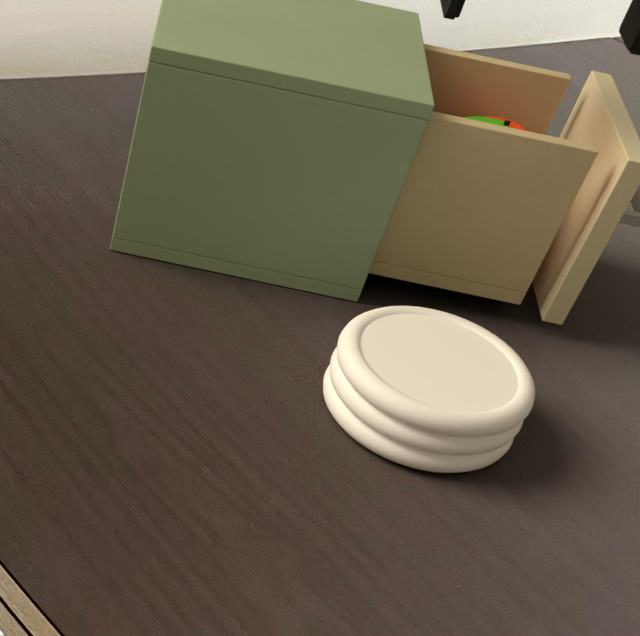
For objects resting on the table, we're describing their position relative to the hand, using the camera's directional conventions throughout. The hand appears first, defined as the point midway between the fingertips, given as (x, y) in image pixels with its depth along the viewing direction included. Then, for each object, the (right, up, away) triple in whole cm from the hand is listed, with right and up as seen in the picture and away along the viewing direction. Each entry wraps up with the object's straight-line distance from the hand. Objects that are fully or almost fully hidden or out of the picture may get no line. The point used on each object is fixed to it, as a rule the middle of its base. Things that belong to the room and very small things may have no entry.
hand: (538, 27), depth 61 cm
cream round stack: (-7, -21, -1) cm, 22 cm away
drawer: (0, -9, +10) cm, 13 cm away
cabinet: (-14, -7, +10) cm, 19 cm away
